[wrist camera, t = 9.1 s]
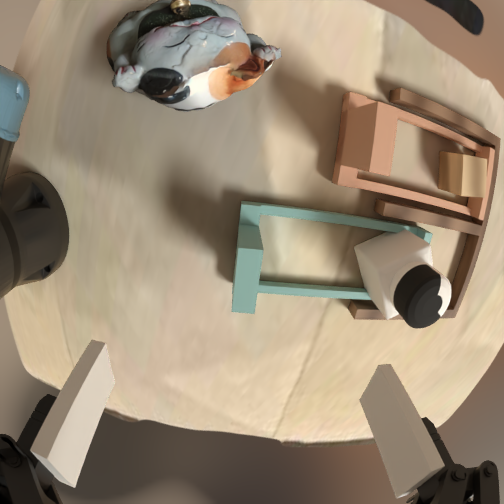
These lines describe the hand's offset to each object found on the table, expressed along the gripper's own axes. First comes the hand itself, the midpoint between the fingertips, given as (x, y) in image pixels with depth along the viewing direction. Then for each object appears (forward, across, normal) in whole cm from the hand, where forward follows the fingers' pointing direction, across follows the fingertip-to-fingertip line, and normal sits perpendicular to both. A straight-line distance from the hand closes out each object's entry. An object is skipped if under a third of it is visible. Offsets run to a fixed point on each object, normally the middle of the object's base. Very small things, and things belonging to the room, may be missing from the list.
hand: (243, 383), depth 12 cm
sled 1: (+21, +20, +13) cm, 32 cm away
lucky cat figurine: (+22, -8, +20) cm, 30 cm away
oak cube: (+21, +26, +13) cm, 36 cm away
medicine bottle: (+22, +18, -1) cm, 28 cm away
